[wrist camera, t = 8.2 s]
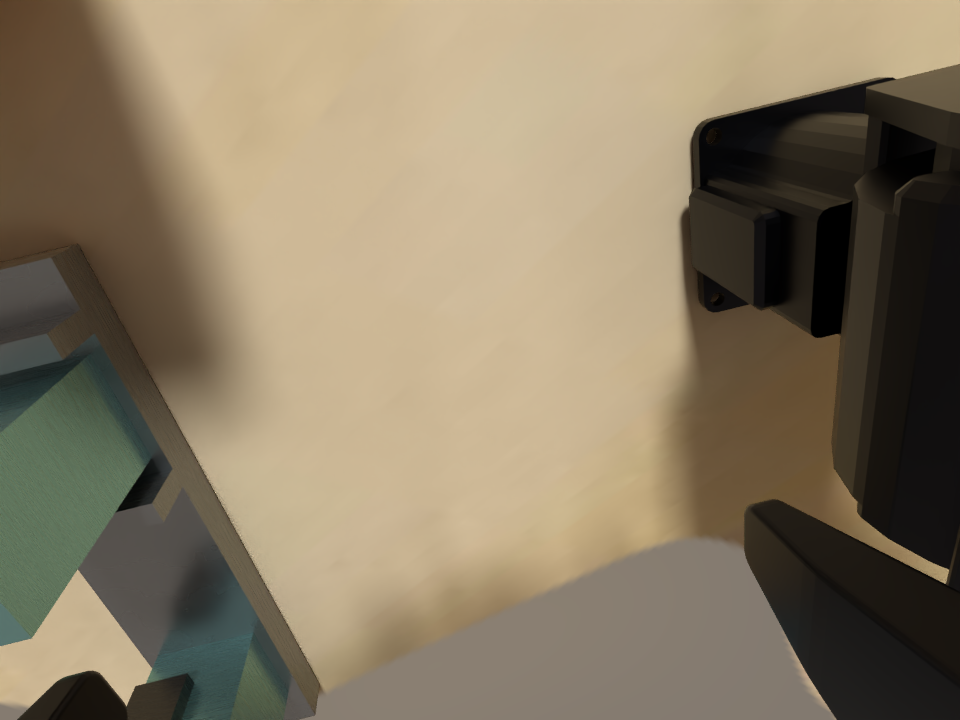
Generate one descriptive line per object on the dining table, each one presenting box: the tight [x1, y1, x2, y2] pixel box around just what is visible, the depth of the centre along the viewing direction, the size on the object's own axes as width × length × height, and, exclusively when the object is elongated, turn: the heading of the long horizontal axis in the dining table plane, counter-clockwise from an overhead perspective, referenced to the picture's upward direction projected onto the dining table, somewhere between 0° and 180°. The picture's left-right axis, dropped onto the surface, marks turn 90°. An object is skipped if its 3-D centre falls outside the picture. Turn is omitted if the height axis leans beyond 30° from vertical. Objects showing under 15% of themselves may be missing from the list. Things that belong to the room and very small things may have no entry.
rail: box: [0, 244, 319, 720], centre depth 19 cm, size 5×22×8 cm, turn 12°
